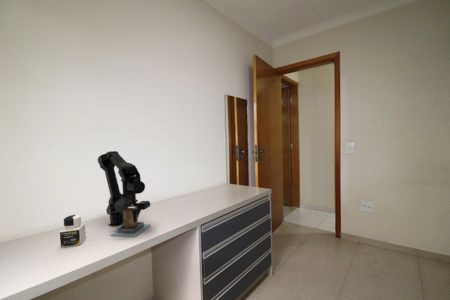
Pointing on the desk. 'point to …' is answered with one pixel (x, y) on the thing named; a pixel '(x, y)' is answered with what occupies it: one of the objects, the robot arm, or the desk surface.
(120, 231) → the socket holder
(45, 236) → the desk surface
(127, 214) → the walnut peg
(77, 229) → the medicine bottle
